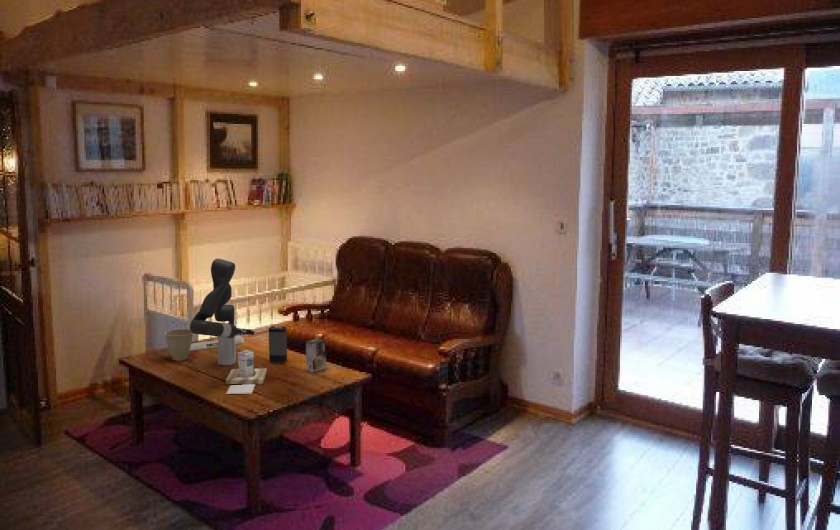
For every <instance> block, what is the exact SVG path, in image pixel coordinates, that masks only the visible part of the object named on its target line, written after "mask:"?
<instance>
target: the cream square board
mask: <svg viewBox="0 0 840 530" xmlns="http://www.w3.org/2000/svg"><path fill="white" fill-rule="evenodd" d="M267 368H268V367H267ZM267 368H254V371H255V376H254V377H239V368H232V369H231V370H230V373H229V374H228V376H227V377H226V379H225V385H226V384H242V385H245V384H255V385H262V384H263V383H264V380H265V378H266V375H267V372H268V370H267Z"/></svg>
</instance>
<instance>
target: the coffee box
mask: <svg viewBox="0 0 840 530" xmlns="http://www.w3.org/2000/svg"><path fill="white" fill-rule="evenodd" d="M326 344H327V343H326V340H324V339H323V338H315V339H312V340H306V341H305V359H306V360H305V362H306V363H305V364H306V366H305V367H306V369H305V370H307V371H308V370H309V371H308V372H311V373H315V371H316V372H319V370H320V371H323V369H324V370H326V369H327V353H326V352H327V348H326V347H327V345H326Z"/></svg>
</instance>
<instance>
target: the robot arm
mask: <svg viewBox="0 0 840 530" xmlns="http://www.w3.org/2000/svg"><path fill="white" fill-rule="evenodd" d="M235 271H236V264H235V263H234V262H232V261H230V260H229V261H228V260H225V259H222V258H215V259H214V260H212V263H211V266H210V274H211V279H212V286H213V287H212V288H213V290H212V291H210V292H209V293H208V294H206V296H205V297H204V298H203V300H202V303H201V306H200V309H199V310H198V312H197V313H196V314H195V315H194V317H193V318H192V320H191V321H190V324H189V330H190V331H191V332H192V333H193V334H195V335H199V336H200V335H201V336H211V337H217V340H218V348H217V364H218V365H220V366H232V365H235V364H236V363H237V351H236V350H237V349H236V346H237V345H235V336H239V335H240V336H241V337H242V336H246V335H248V336H254V335H255V331H254V330H252V329H249V328H248V329H246V328H240V327H237V326H236V325H235V321H236V318H235V317H236V315H235V314H236V312H235V311H236V309H235V306H234V304H227V303H228V302H229V301H230V300H231V298H232V294H233V293H232V292H233V291H232V286H231V284H230V282H231V281H232V278H233V276H234V274H235ZM213 316H214V319H215V321H211V320H207V319H211V318H212V317H213ZM226 322H227V323H226ZM193 334H192V335H193Z"/></svg>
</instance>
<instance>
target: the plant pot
mask: <svg viewBox="0 0 840 530" xmlns="http://www.w3.org/2000/svg"><path fill="white" fill-rule="evenodd" d="M164 337H165V342H166V345H167V349H168V352H169V353H170V356H171V358H172V360H173V361H174V360H176V361H175V362H182V361H181V360H183V361H186V360H187V359H188V357H189V354H190V352H189V351H190V347H191V344H192V343H193V342H192V341H193V333H192V332H191V331H190V328H189V329H188V328H177V329H170V330H167V331H165V332H164ZM185 359H186V360H185Z"/></svg>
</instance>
